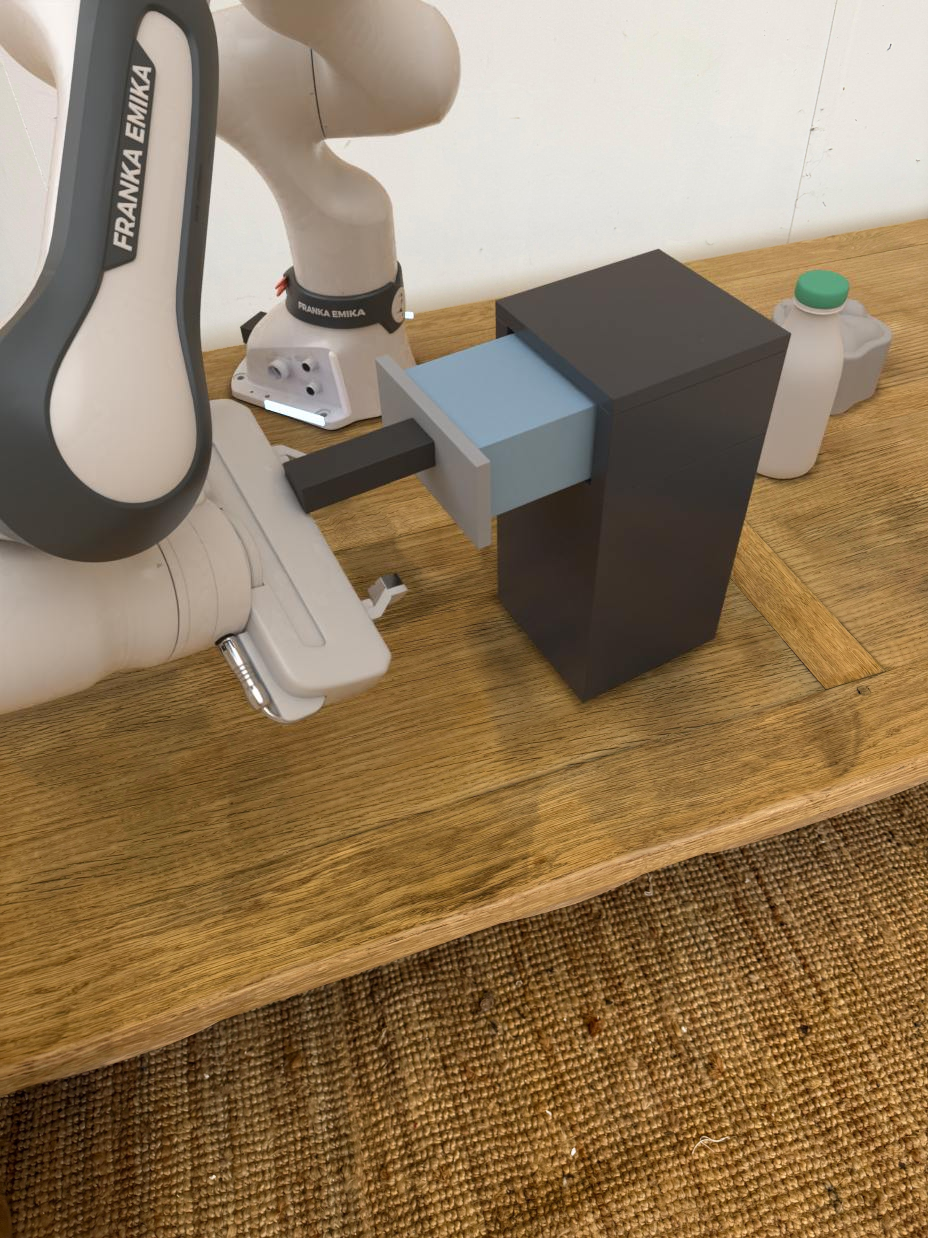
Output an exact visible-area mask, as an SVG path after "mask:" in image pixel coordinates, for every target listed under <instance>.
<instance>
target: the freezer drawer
mask: <svg viewBox="0 0 928 1238" xmlns="http://www.w3.org/2000/svg"><path fill="white" fill-rule="evenodd" d="M375 363H376V371H377V380H378V389H379V397H380V406H381V423H382V424H381V425H382V427H381V428H378V429H375V430H372V431H370V432H367V433H364V434H361V435H357V436H355V437H353V438H350V439H347V440H343V441H341V442H338V443H336V444H333V445H330V446H327V447H324V448H321V449H319V450H318V449H317V450H315V451H312V452H310V453H306V454H307V455H304V456H301V457H298V458H296V459H293V460H290V461H287V462H284V463H283V466H284V470H285V475H286V477H287V479H288V481H289V483H290V485H291V487H292V489H293V491H294V493H295V495H296V497H297V499H298V501H299V503H300V505H301V507H302V508H303V510H304V511H305V513H306V514H308V513H310V514H311V513H313V512H316V511H319V510H321V509H325V508H327V507H330V506H332V505H335V504H337V503H341V502H343V501H345V500H349V499H351V498H354V497H357V496H359V495H362V494H364V493H367V492H370V491H373V490H375V489H378V488H380V487H383V486H387V485H388V484H391V483H394V482H397V481H400V480H402V479H405V478H407V477H410V476H413V475H414V476H415V477H416V478H417V480H419V482H420V483H421V484H422V485H423V487H425V489H426V490H427V491H428V492H429V494H430V495H431V496H432V497H433V498H434V499H435V501H436V502H437V503H438V504H439V505H440V506H441V508H442V509H443V510H444V511H445V512H446V513H447V515H448V516H449V517H450V518H451V520H453V522H454V523H455V524H456V525H457V526H458V528H459V529H460V530H461V531H462V532H463V533H464V535H465V536H466V537H467V539H469V541H470V542H471V543H472V544H473V545H474V547H475V548H476V550H482V549H484V548H486V547H489V546H491V545H492V543H493V541H492V538H493V537H492V534H493V533H492V532H493V531H492V519H493V518H494V517H497V515H499V514H502V513H504V512H507V511H509V510H512V509H514V508H517V507H519V506H522V505H524V504H527V503H529V502H532V501H534V500H537V499H539V498H542V497H544V496H547V495H549V494H552V493H554V492H557V491H559V490H562V489H564V488H567V487H569V486H572V485H574V484H577V483H579V482H582V481H584V480H587V479H589V478H591V474H592V462H593V451H594V439H595V428H596V416H597V405H598V403H597V402H595V401H594V400H593V399H592V398H591V397H590V396H588V395H587V394H586V393H585V392H584V391H583V390H581V389H580V388H579V387H578V386H577V385H576V384H574V383H573V382H572V381H571V380H570V379H569V378H567V377H566V376H565V375H564V374H563V373H561V372H560V371H559V370H558V369H557V368H556V367H554V366H553V365H552V364H551V363H550V362H549V361H547V360H546V359H545V358H544V357H543V356H542V355H540V354H539V353H538V352H537V351H536V350H535V349H533V348H532V347H531V346H530V345H529V344H528V343H526V342H525V341H524V340H523V339H522V338H521V337H519V336H518V335H517V334H516V333H513V334H510V335H507V336H504V337H501V338H498V339H496V338H495V339H492V340H490V341H486V342H483V343H480V344H477V345H475V346H474V345H473V346H471V347H468V348H466V349H463V350H459V351H457V352H453V353H450V354H447V355H445V356H441V357H438V358H435V359H433V360H429V361H426V362H423V363H421V364H417V366H414V367H411V368H408V369H405V370H403V369H402V368H401V367H400V366H399V365H398V364H397V363H396V362H395V361H394V360H393V359H392V358H391V357H390V356H389V355H388V354H387V355H384V356H381V357H378V358H375Z"/></svg>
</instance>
